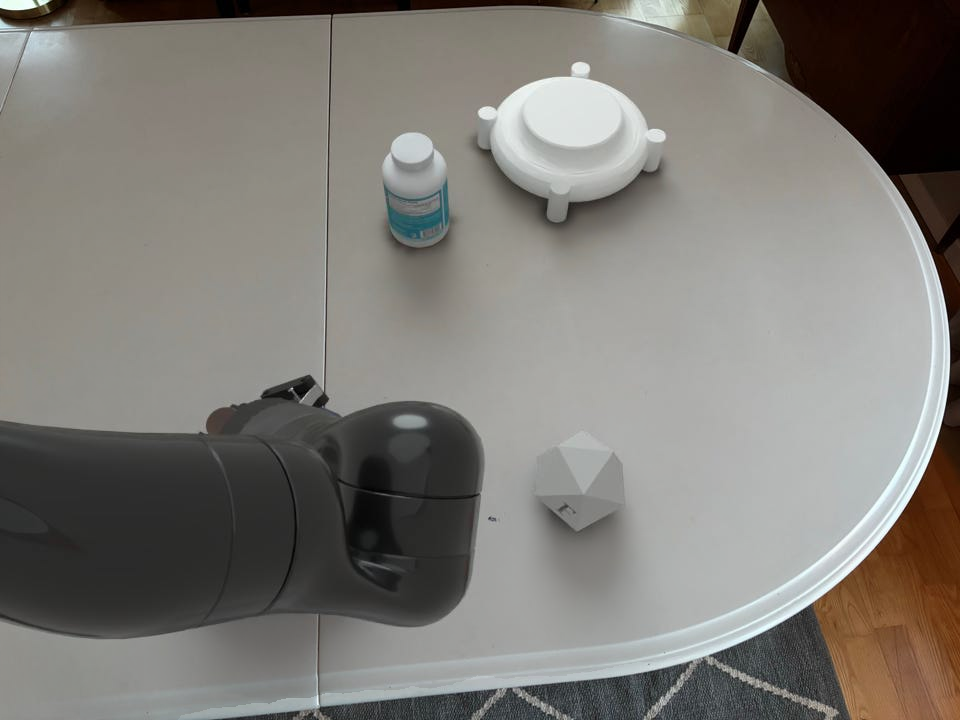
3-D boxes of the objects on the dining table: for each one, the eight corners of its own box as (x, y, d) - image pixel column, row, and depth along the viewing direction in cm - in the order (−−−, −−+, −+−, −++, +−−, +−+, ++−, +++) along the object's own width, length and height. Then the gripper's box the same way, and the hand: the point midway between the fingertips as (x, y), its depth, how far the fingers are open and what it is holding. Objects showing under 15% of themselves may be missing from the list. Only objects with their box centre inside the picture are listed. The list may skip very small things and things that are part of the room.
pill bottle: (410, 196, 101) (402, 114, 89) (460, 218, 99) (458, 137, 87) (378, 236, 97) (365, 156, 86) (429, 259, 96) (423, 181, 84)
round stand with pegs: (460, 209, 100) (460, 168, 94) (493, 81, 112) (494, 38, 106) (651, 236, 98) (663, 197, 92) (663, 103, 110) (674, 60, 104)
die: (517, 471, 82) (516, 499, 73) (574, 408, 81) (581, 427, 71) (578, 524, 83) (585, 559, 73) (636, 462, 82) (652, 489, 72)
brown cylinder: (251, 493, 70) (221, 445, 61) (231, 473, 71) (198, 423, 62) (276, 471, 71) (249, 421, 62) (255, 452, 72) (226, 400, 63)
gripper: (334, 347, 53) (256, 342, 68) (164, 495, 48) (119, 454, 62) (397, 429, 56) (309, 407, 70) (243, 578, 50) (182, 520, 65)
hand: (220, 429), depth 66 cm, fingers closed on brown cylinder, 3 cm apart
